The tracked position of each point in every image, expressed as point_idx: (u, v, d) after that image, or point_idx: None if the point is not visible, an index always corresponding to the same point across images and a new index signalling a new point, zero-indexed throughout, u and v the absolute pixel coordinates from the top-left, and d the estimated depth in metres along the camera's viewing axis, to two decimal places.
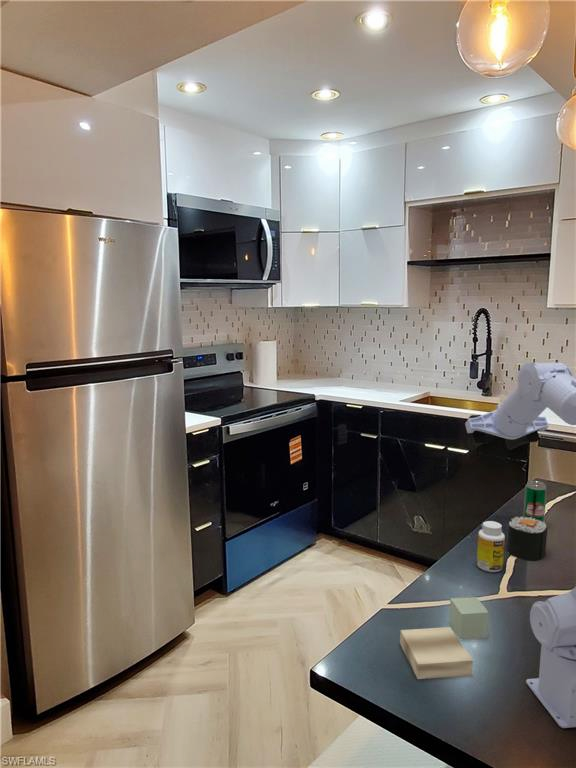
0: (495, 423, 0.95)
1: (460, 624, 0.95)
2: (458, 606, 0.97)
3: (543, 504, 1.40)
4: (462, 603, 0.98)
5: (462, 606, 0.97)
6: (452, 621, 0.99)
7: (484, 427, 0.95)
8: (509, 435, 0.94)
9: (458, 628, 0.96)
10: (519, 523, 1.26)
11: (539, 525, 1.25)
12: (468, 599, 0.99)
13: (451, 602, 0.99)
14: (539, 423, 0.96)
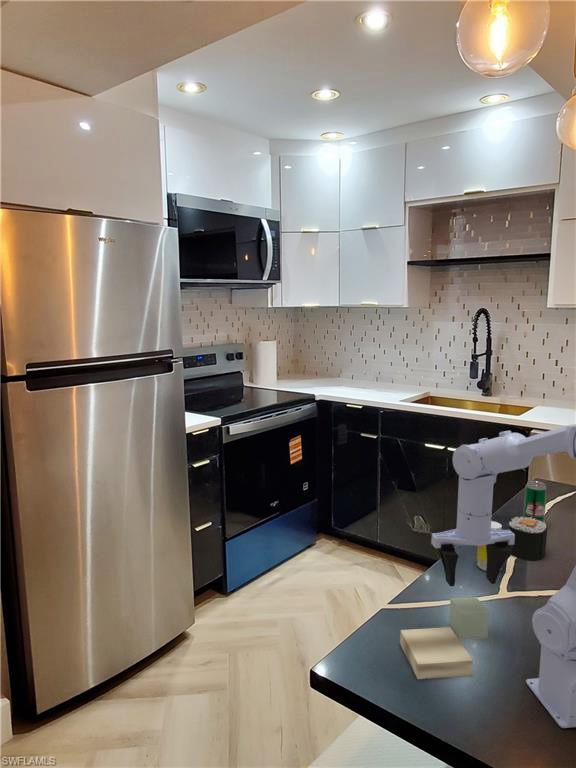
0: (458, 533, 0.94)
1: (460, 624, 0.95)
2: (458, 606, 0.97)
3: (543, 504, 1.40)
4: (462, 603, 0.98)
5: (462, 606, 0.97)
6: (452, 621, 0.99)
7: (448, 538, 0.94)
8: (475, 539, 0.92)
9: (458, 628, 0.96)
10: (519, 523, 1.26)
11: (539, 525, 1.25)
12: (468, 599, 0.99)
13: (451, 602, 0.99)
14: (504, 534, 0.95)
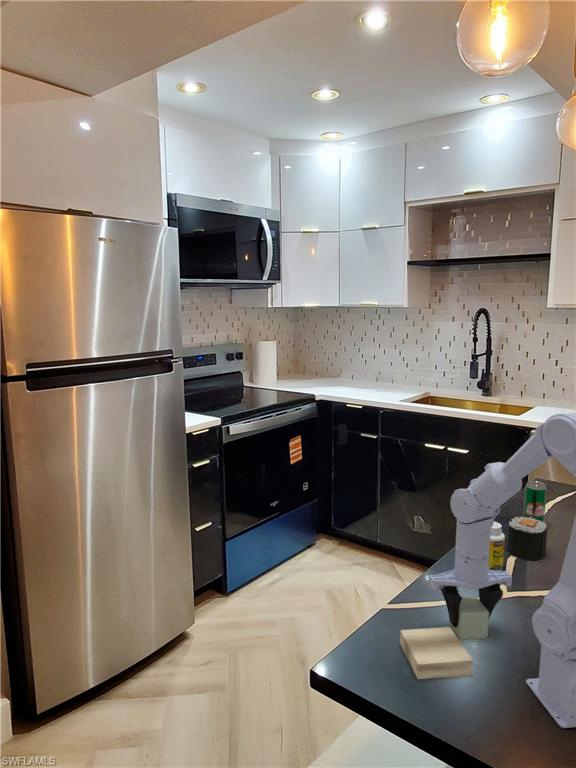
0: (456, 575, 0.95)
1: (460, 623, 0.95)
2: None
3: (543, 504, 1.40)
4: (462, 603, 0.98)
5: (462, 606, 0.97)
6: None
7: (446, 580, 0.95)
8: (473, 582, 0.93)
9: (458, 627, 0.96)
10: (519, 523, 1.26)
11: (539, 525, 1.25)
12: (468, 598, 0.99)
13: None
14: (502, 575, 0.97)
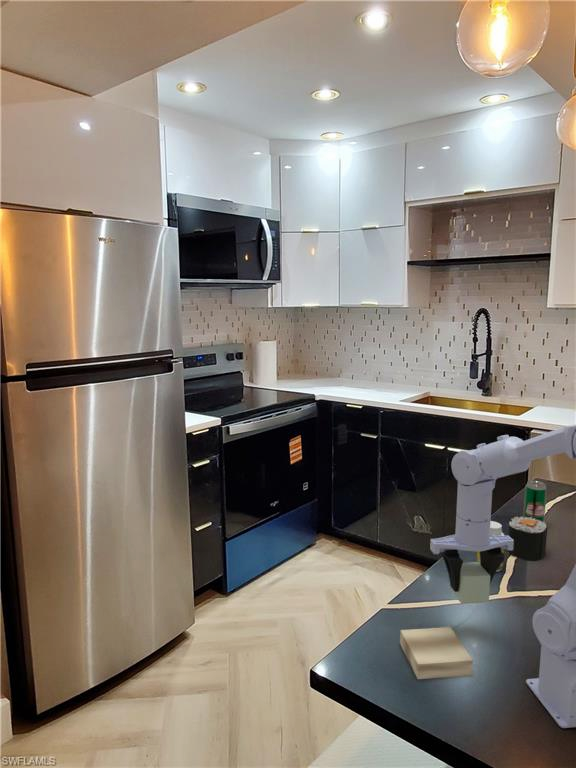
0: (457, 539, 0.94)
1: (461, 587, 0.94)
2: None
3: (543, 504, 1.40)
4: (463, 567, 0.96)
5: (463, 570, 0.95)
6: None
7: (447, 543, 0.94)
8: (474, 545, 0.92)
9: (459, 591, 0.95)
10: (519, 523, 1.26)
11: (539, 525, 1.26)
12: (469, 564, 0.98)
13: None
14: (503, 539, 0.95)
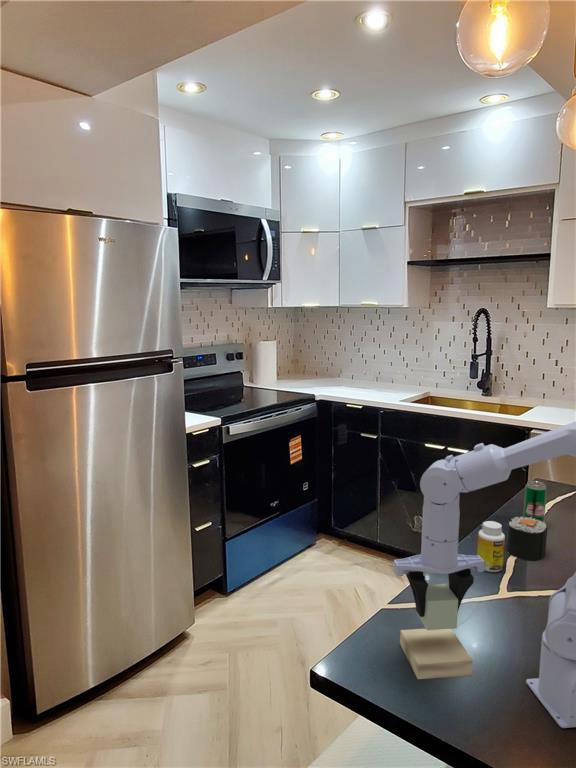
0: (423, 559, 0.87)
1: (427, 613, 0.86)
2: None
3: (543, 504, 1.40)
4: (429, 590, 0.89)
5: (429, 593, 0.88)
6: None
7: (412, 565, 0.86)
8: (440, 567, 0.85)
9: (424, 617, 0.87)
10: (519, 523, 1.26)
11: (539, 525, 1.25)
12: (437, 586, 0.90)
13: None
14: (473, 560, 0.88)
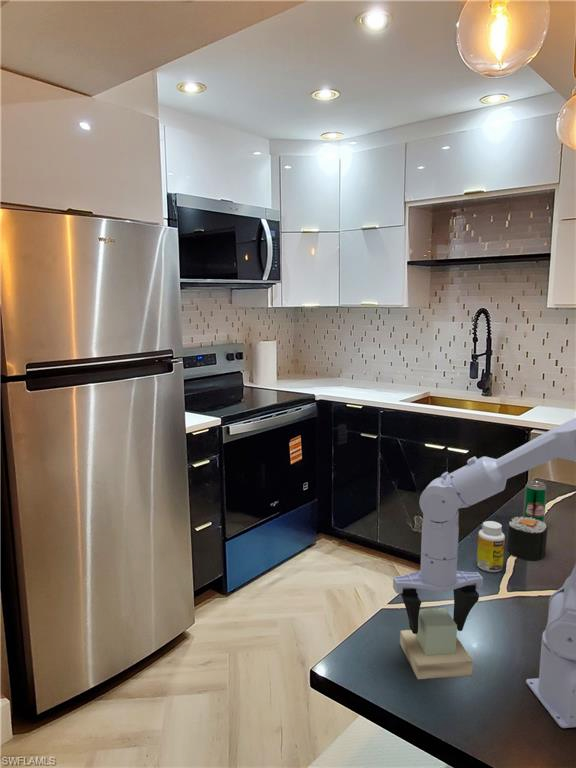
0: (422, 577, 0.87)
1: (426, 638, 0.87)
2: (424, 618, 0.89)
3: (543, 504, 1.40)
4: (429, 615, 0.89)
5: (428, 619, 0.88)
6: (418, 634, 0.90)
7: (411, 582, 0.87)
8: (439, 584, 0.85)
9: (423, 642, 0.88)
10: (519, 523, 1.26)
11: (539, 525, 1.25)
12: (436, 610, 0.91)
13: None
14: (472, 577, 0.88)
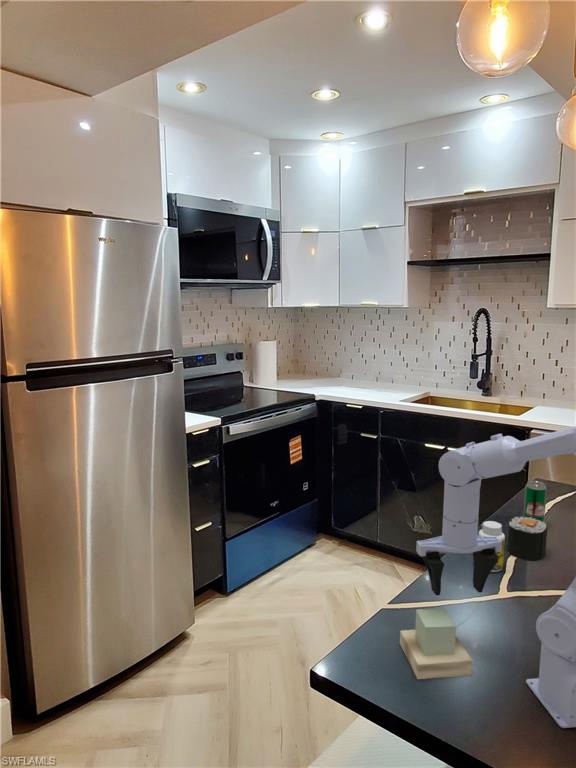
0: (444, 540, 0.91)
1: (424, 638, 0.87)
2: (423, 618, 0.88)
3: (543, 504, 1.40)
4: (428, 615, 0.89)
5: (427, 619, 0.88)
6: (417, 634, 0.90)
7: (434, 545, 0.91)
8: (461, 547, 0.89)
9: (422, 642, 0.88)
10: (519, 523, 1.26)
11: (539, 525, 1.25)
12: (435, 610, 0.91)
13: (417, 613, 0.91)
14: (491, 541, 0.93)
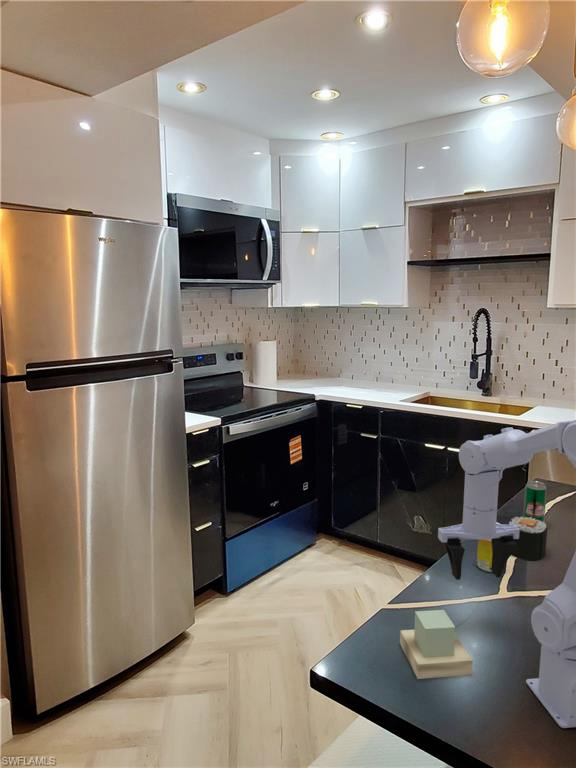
0: (465, 527, 0.96)
1: (424, 640, 0.86)
2: (423, 620, 0.88)
3: (543, 504, 1.40)
4: (427, 616, 0.89)
5: (427, 620, 0.88)
6: (416, 636, 0.90)
7: (455, 532, 0.96)
8: (481, 533, 0.94)
9: (421, 644, 0.87)
10: (519, 523, 1.26)
11: (539, 525, 1.25)
12: (434, 612, 0.90)
13: (416, 615, 0.90)
14: (509, 528, 0.98)
